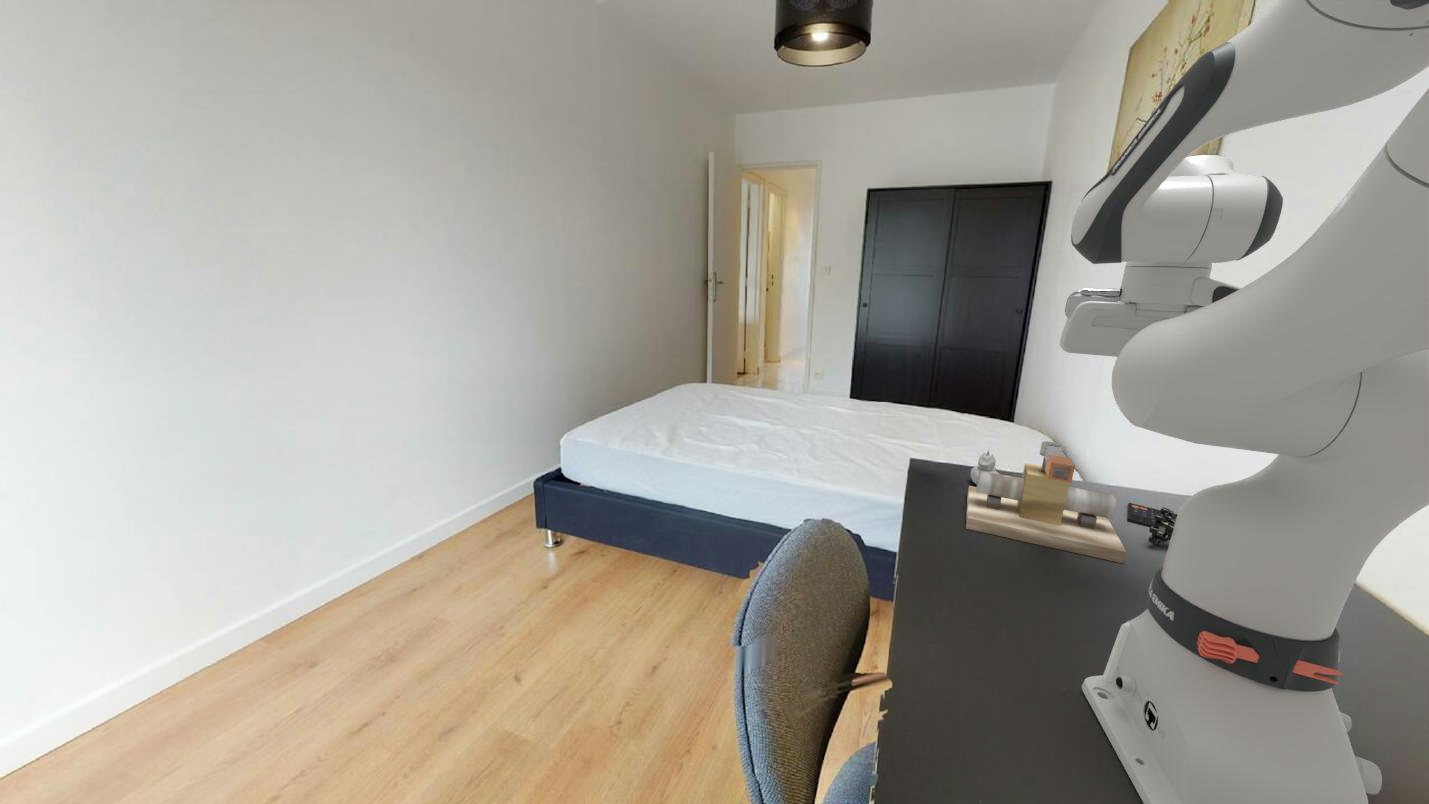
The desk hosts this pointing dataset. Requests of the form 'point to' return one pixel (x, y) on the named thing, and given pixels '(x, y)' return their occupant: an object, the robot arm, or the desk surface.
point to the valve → (1162, 527)
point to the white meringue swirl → (984, 466)
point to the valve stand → (1045, 513)
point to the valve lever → (1057, 462)
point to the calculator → (1143, 515)
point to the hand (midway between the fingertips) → (1136, 390)
